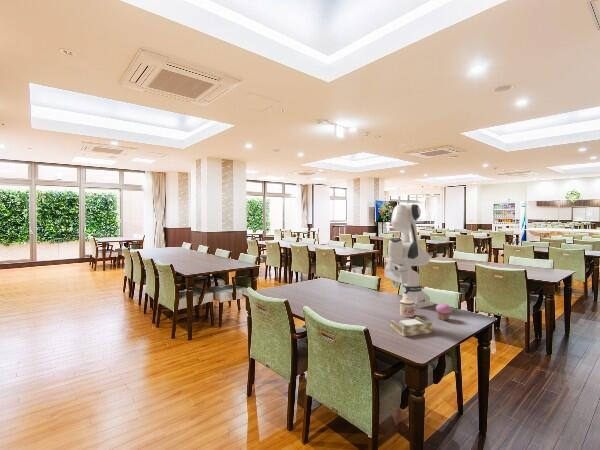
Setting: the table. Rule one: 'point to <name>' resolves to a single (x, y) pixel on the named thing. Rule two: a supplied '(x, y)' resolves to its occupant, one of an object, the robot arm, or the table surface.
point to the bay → (412, 328)
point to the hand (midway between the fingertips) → (395, 287)
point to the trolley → (409, 322)
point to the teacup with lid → (407, 307)
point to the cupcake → (443, 311)
